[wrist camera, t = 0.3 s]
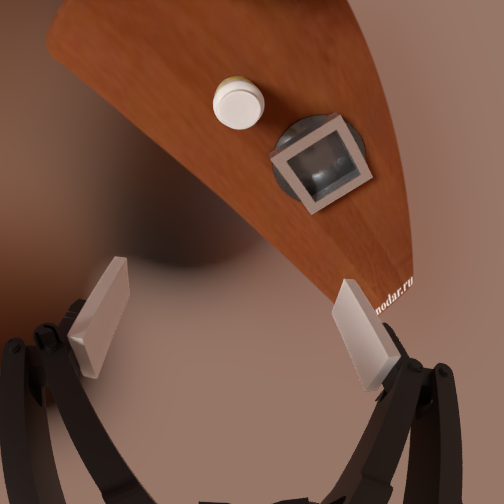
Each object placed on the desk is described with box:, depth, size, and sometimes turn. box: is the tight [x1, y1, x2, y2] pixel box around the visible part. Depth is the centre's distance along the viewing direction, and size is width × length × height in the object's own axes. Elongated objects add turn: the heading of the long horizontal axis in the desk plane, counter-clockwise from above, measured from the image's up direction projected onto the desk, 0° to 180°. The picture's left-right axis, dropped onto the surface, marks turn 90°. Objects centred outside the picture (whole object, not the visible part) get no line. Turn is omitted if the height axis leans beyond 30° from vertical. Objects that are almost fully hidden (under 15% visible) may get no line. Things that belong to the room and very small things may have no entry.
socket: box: [268, 112, 373, 215], centre depth 37 cm, size 14×14×2 cm
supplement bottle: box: [213, 76, 265, 129], centre depth 28 cm, size 5×5×10 cm
